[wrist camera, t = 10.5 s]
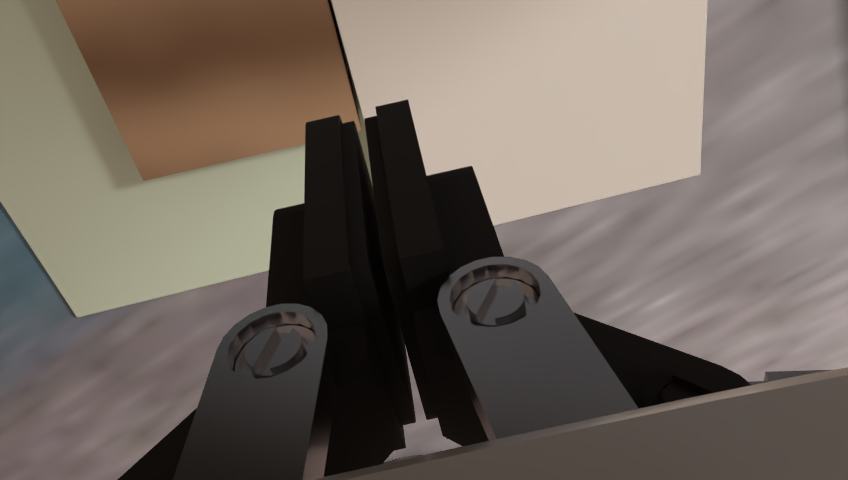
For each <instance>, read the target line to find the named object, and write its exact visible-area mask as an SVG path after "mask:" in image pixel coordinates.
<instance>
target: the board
mask: <svg viewBox="0 0 848 480" xmlns="http://www.w3.org/2000/svg"><path fill="white" fill-rule="evenodd" d="M331 1H332V5H333V8H334V12H335V16H336V19H337V23H338V27H339V30H340V34H341V38H342V41H343V45H344V49H345V52H346V56H347V60H348V63H349V67H350V71H351V74H352V78H353V82H354V85H355V89H356V92H357V96H358V100H359V103H360V107H361V111H362V114H363V118H369V117H373V116H377V115H376V109H375V107H376V106H381V105H385V104H390V103H394V102H399V101H403V100H407V99H408V102H409V106H410V110H411V114H412V118H413V122H414V126H415V130H416V134H417V139H418V143H419V147H420V151H421V155H422V159H423V163H424V167H425V172H426V176H428V175H432V174H437V173H441V172H445V171H450V170H454V169H459V168H463V167H468V166H472V167H473V169H474V172H475V175H476V178H477V180H478V183H479V186H480V189H481V192H482V195H483V198H484V201H485V203H486V206H487V209H488V212H489V215H490V218H491V221H492V224H493V225H497V224H501V223H505V222H509V221H514V220H518V219H522V218H526V217H530V216H534V215H538V214H542V213H546V212H550V211H554V210H558V209H562V208H566V207H570V206H574V205H578V204H582V203H587V202H591V201H595V200H599V199H603V198H607V197H611V196H615V195H619V194H623V193H627V192H631V191H635V190H639V189H643V188H647V187H651V186H655V185H659V184H664V183H668V182H672V181H676V180H680V179H684V178H688V177H692V176H696V175H700V165H701V142H702V118H703V94H704V70H705V46H706V22H707V0H331ZM364 122H365V121H364Z"/></svg>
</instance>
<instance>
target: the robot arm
mask: <svg viewBox="0 0 848 480" xmlns="http://www.w3.org/2000/svg"><path fill="white" fill-rule="evenodd" d="M375 109H376V115H377V116H373V117H369V118H364V121H365V129H366V137H367V145H368V153H369V161H370V169H371V177H372V183H371V179H370V175H369V172H368V168H367V164H366V161H365V157H364V153H363V150H362V146H361V142H360V138H359V135H358V131H357V128H356V124H355V122H354V121H351V122H346V123H342V120H341V117H340V116H339V115H336V116H332V117H328V118H323V119H319V120H314V121H310V122H306V125H305V185H304V203H303V204H298V205H294V206H289V207H285V208H280V209H276V210H275V211H274V215H273V224H272V237H271V250H270V263H269V277H268V290H267V303H266V307H265V308H263V309H261V310H258V311H256V312H254V313H252V314H249V315H248V316H246V317H245V318H244V319H242V320H241V321H239V322H238V323H236V324H235V325H234V326H233V327H232V328H231V329H230V330H229V331H228V332H227V334H226V335H225V336H224V337H223V339H222V341H221V343H220V345H219V346H218V348H217V350H216V353H215V356H214V359H213V362H212V365H211V368H210V371H209V374H208V377H207V380H206V383H205V386H204V389H203V392H202V395H201V398H200V401H199V404H198V407H197V408H196V409H195V410H194V411H193V412H192V413H191V414H190V415H189V416H188V417H186V418H185V419H184V420H183V421H182V422H181V423H180V424H179V425H178V426H177V427H175V428H174V429H173V430H172V431H171V432H170V433H169V434H168V435H167V436H165V437H164V438H163V439H162V440H161V441H160V442H159V443H158V444H157V445H156V446H154V447H153V448H152V449H151V450H150V451H149V452H148V453H147V454H146V455H144V456H143V457H142V458H141V459H140V460H139V461H138V462H137V463H136V464H134V465H133V466H132V467H131V468H130V469H129V470H128V471H127V472H126V473H125V474H123V475H122V476H121V477H120V478H119V479H118V480H848V368H842V369H836V370H813V371H779V372H765V378H764V381H758V382H747V381H746V380H745V379H744V378H742V377H741V376H740V375H739V374H736V373H734V372H732V371H730V370H728V369H726V368H724V367H722V366H720V365H717V364H715V363H712V362H709V361H706V360H704V359H701V358H698V357H695V356H692V355H690V354H687V353H684V352H681V351H679V350H676V349H673V348H670V347H667V346H665V345H662V344H659V343H656V342H654V341H651V340H648V339H645V338H642V337H640V336H637V335H634V334H631V333H629V332H626V331H623V330H620V329H618V328H615V327H612V326H609V325H606V324H604V323H601V322H598V321H595V320H593V319H590V318H587V317H584V316H581V315H579V314H576V313H573V311H572V310H571V308H570V307H569V305H568V304H567V302H566V301H565V300H564V298H563V297H562V295H561V294H560V292H559V291H558V289H557V288H556V286H555V285H554V283H553V282H552V280H551V279H550V278H549V276H548V275H547V274H546V273H545V272H544V271H543V270H542V269H541V268H540V267H539V266H537V265H535V264H533V263H531V262H529V261H527V260H524V259H519V258H514V257H504V255H503V252H502V249H501V247H500V244H499V241H498V238H497V235H496V232H495V229H494V226H493V224H492V221H491V218H490V215H489V212H488V209H487V206H486V203H485V201H484V198H483V195H482V192H481V189H480V186H479V183H478V180H477V178H476V175H475V172H474V169H473V167H472V166H468V167H463V168H459V169H454V170H450V171H445V172H441V173H437V174H432V175H428V176H426V172H425V167H424V163H423V159H422V155H421V151H420V147H419V143H418V139H417V134H416V130H415V126H414V122H413V118H412V114H411V110H410V106H409V102H408V99H407V100H403V101H399V102H394V103H390V104H385V105H381V106H376V107H375ZM372 185H373V186H372ZM405 345H406V349H407V352H408V356H409V359H410V363H411V366H412V370H413V373H414V377H415V380H416V384H417V387H418V391H419V394H420V398H421V401H422V405H423V408H424V412H425V415H426V419H427V420H429V419H433V418H438V420H439V423H440V427H441V431H442V435H443V436H444V437H446V438H447V439H450V440H452V441H454V442H456V443H458V444H459V445H461V446H463V447H458V448H454V449H449V450H445V451H440V452H436V453H431V454H426V455H422V456H417V457H413V458H408V459H404V460H399V461H395V462H390V463H385V464H382V463H383V462H384V461H385V460H386V459H387V458H388V456H389V455H390V454H391V453H392V452H393V451H394V450H398V449H403V448H406V445H405V437H404V429H403V425H406V424H411V423H415V422H416V419H415V411H414V404H413V397H412V390H411V383H410V376H409V370H408V363H407V356H406V349H405Z"/></svg>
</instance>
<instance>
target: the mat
mask: <svg viewBox="0 0 848 480" xmlns="http://www.w3.org/2000/svg"><path fill="white" fill-rule="evenodd" d="M330 2H331V6H332V10H333V14H334V18H335V22H336V25H337V29H338V33H339V37H340V41H341V45H342V49H343V53H344V57H345V60H346V64H347V68H348V72H349V76H350V80H351V84H352V88H353V91H354V95H355V99H356V103H357V107H358V112H359V118H360V124H361V130H362V131H358V135H359V138H360V142H361V146H362V150H363V153H364V157H365V161H366V164H367V168H368V172H369V175H370V179H371V183H372V177H371V169H370V161H369V153H368V145H367V137H366V129H365V122H364V118H363V114H362V111H361V107H360V103H359V100H358V96H357V92H356V89H355V85H354V82H353V78H352V74H351V71H350V67H349V63H348V60H347V56H346V52H345V49H344V45H343V41H342V38H341V34H340V30H339V27H338V23H337V19H336V16H335V12H334V8H333V5H332V1H331V0H330ZM304 185H305V144H302V145H298V146H293V147H289V148H285V149H280V150H276V151H272V152H267V153H263V154H259V155H254V156H250V157H246V158H241V159H237V160H233V161H228V162H224V163H220V164H215V165H211V166H207V167H202V168H198V169H194V170H189V171H185V172H181V173H176V174H172V175H168V176H163V177H159V178H155V179H150V180H146V181H143V179H142V177H141V175H140V173H139V171H138V169H137V167H136V165H135V163H134V161H133V158H132V156H131V154H130V152H129V150H128V148H127V146H126V144H125V142H124V140H123V138H122V136H121V134H120V132H119V130H118V128H117V126H116V124H115V121H114V119H113V117H112V115H111V113H110V111H109V109H108V107H107V105H106V103H105V101H104V99H103V97H102V95H101V93H100V91H99V89H98V87H97V85H96V82H95V80H94V78H93V76H92V74H91V72H90V70H89V68H88V66H87V64H86V62H85V60H84V58H83V56H82V54H81V52H80V50H79V48H78V45H77V43H76V41H75V39H74V37H73V35H72V33H71V31H70V29H69V27H68V25H67V23H66V21H65V19H64V17H63V15H62V13H61V11H60V9H59V6H58V4H57V2H56V0H0V202H1V203H2V205H3V206H4V208H5V209H6V211H7V212H8V214H9V215H10V217H11V218H12V220H13V221H14V223H15V224H16V226H17V227H18V229H19V230H20V232H21V233H22V235H23V236H24V238H25V240H26V241H27V243H28V244H29V246H30V247H31V249H32V250H33V252H34V253H35V255H36V256H37V258H38V259H39V261H40V262H41V264H42V265H43V267H44V268H45V270H46V271H47V273H48V274H49V276H50V277H51V279H52V280H53V282H54V283H55V285H56V286H57V288H58V289H59V291H60V292H61V294H62V295H63V297H64V298H65V300H66V301H67V303H68V304H69V306H70V307H71V309H72V310H73V312H74V314H75V315H76V317H81V316H85V315H89V314H93V313H98V312H102V311H106V310H110V309H114V308H118V307H122V306H126V305H130V304H134V303H138V302H142V301H146V300H150V299H154V298H158V297H162V296H166V295H170V294H175V293H179V292H183V291H187V290H191V289H195V288H199V287H203V286H207V285H211V284H215V283H219V282H223V281H227V280H231V279H235V278H239V277H243V276H248V275H252V274H256V273H260V272H264V271H268V270H269V263H270V250H271V237H272V224H273V215H274V211H275V210H276V209H280V208H285V207H289V206H294V205H298V204H303V203H304ZM372 186H373V185H372Z"/></svg>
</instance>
